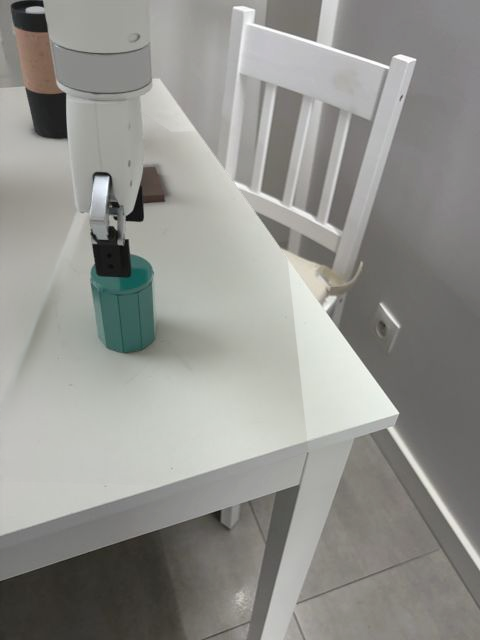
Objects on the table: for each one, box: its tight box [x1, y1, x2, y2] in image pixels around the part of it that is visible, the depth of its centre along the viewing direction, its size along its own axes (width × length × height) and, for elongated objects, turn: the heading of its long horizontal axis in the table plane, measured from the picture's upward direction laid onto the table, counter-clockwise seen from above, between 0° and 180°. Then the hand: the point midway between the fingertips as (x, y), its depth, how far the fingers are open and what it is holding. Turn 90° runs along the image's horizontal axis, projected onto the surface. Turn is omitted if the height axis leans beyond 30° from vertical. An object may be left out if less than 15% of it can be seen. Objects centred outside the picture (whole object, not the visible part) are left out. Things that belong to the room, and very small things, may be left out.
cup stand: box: [110, 166, 166, 206], centre depth 84 cm, size 9×9×8 cm
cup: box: [89, 253, 157, 354], centre depth 61 cm, size 6×7×9 cm
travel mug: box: [10, 0, 68, 140], centre depth 90 cm, size 8×8×20 cm
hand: (122, 245), depth 55 cm, fingers open, 9 cm apart
